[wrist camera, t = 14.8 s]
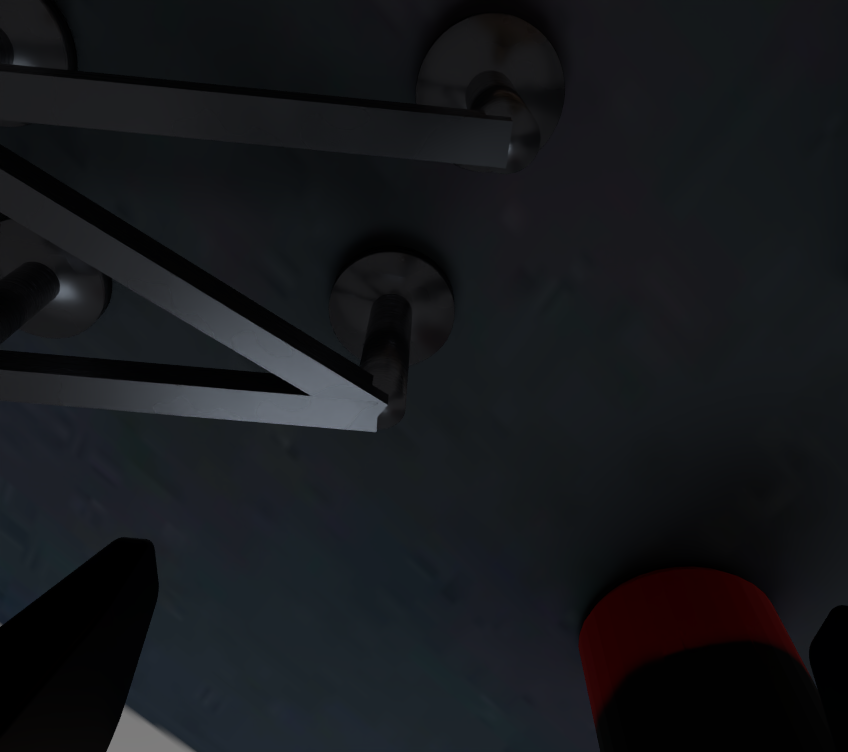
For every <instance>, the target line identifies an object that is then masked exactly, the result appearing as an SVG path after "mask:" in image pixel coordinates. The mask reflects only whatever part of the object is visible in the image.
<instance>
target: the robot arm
mask: <svg viewBox="0 0 848 752" xmlns="http://www.w3.org/2000/svg"><path fill="white" fill-rule="evenodd" d="M158 591H159V582H158V574H157V565H156V557H155V549H154V545H153V543H152V542H151V541H150V540H147V539H138V538H127V537H121V538H118V539H116V540H114V541H113V542H111V543H110V544H109V545H107V546H106V547H105V548H103V549H102V550H101V551H99V552H98V553H97V554H96V555H94V556H93V557H92V558H90V559H89V560H88V561H86V562H85V563H84V564H82V565H81V566H80V567H78V568H77V569H76V570H74V571H73V572H72V573H71V574H69V575H68V576H67V577H65V578H64V579H63V580H61V581H60V582H59V583H57V584H56V585H55V586H53V587H52V588H51V589H49V590H48V591H47V592H46V593H44V594H43V595H42V596H40V597H39V598H38V599H36V600H35V601H34V602H32V603H31V604H30V605H28V606H27V607H26V608H25V609H23V610H22V611H21V612H19V613H18V614H17V615H15V616H14V617H13V618H11V619H10V620H9V621H7V622H6V623H5V624H3V625H2V626H1V627H0V752H106V751H107V749H108V747H109V744H110V742H111V740H112V737H113V735H114V732H115V730H116V727H117V725H118V722H119V720H120V717H121V714H122V711H123V708H124V705H125V702H126V699H127V696H128V693H129V689H130V686H131V683H132V680H133V676H134V673H135V670H136V667H137V664H138V660H139V657H140V654H141V651H142V647H143V644H144V641H145V638H146V634H147V631H148V628H149V625H150V622H151V618H152V615H153V612H154V609H155V605H156V602H157V597H158ZM809 659H810V665H811V668H812V672H813V675H814V678H815V682H816V685H817V688H818V692H819V695H820V699H821V702H822V705H823V709H824V712H825V716H826V719H827V722H828V726H829V729H830V733H831V736H832V739H833V743H834V746H835V750H836V752H848V606H844V605H840V606H837V607H835V608H833V609H832V610H831V611H830V613H829V615H828V616H827V618H826V619H825V621H824V623H823V624H822V626H821V628H820V629H819V631H818V632H817V634H816V636H815V637H814V639H813V641H812V642H811V645H810V649H809Z"/></svg>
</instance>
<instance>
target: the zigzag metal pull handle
mask: <svg viewBox="0 0 848 752" xmlns="http://www.w3.org/2000/svg"><path fill="white" fill-rule="evenodd" d="M564 95H565V83H564V75H563V71H562V67H561V63H560V61H559V58H558V56H557V53H556V52H555V50H554V48H553V46H552V45H551V43H550V42H549V41H548V39H547V38H546V37H545V36H544V35H543V34H542V33H541V32H540V31H539V30H538V29H537V28H535V27H534V26H532V25H531V24H530V23H528V22H526V21H524V20H522V19H520V18H518V17H516V16H513V15H510V14H505V13H500V12H485V13H478V14H474V15H471V16H468V17H465V18H463V19H461V20H459V21H457V22H456V23H454V24H452V25H451V26H449V27H448V28H447V29H446V30H444V31H443V32H442V33H441V34H440V35H439V36H438V37H437V39H436V40H435V41H434V42H433V44H432V45H431V46H430V48H429V50H428V52H427V53H426V55H425V57H424V59H423V62H422V64H421V67H420V71H419V75H418V79H417V86H416V104H410V103H400V102H389V101H379V100H369V99H359V98H349V97H339V96H328V95H318V94H308V93H298V92H288V91H277V90H267V89H257V88H247V87H237V86H227V85H216V84H206V83H196V82H186V81H176V80H166V79H155V78H145V77H135V76H125V75H115V74H104V73H94V72H84V71H77V56H76V50H75V45H74V41H73V38H72V35H71V32H70V30H69V27H68V25H67V23H66V21H65V19H64V17H63V15H62V14H61V12H60V10H59V9H58V8H57V6H56V5H55V3H54V2H53V1H52V0H0V126H4V127H18V126H25V125H28V124H32V123H38V124H49V125H59V126H70V127H80V128H91V129H101V130H111V131H122V132H132V133H143V134H153V135H164V136H174V137H184V138H195V139H205V140H216V141H226V142H237V143H247V144H258V145H268V146H278V147H289V148H299V149H310V150H320V151H331V152H341V153H351V154H362V155H372V156H383V157H393V158H404V159H414V160H424V161H435V162H445V163H453V164H455V165H457V166H459V167H461V168H464V169H468V170H471V171H477V172H496V173H500V174H511V173H515V172H518V171H520V170H522V169H524V168H525V167H527V166H528V165H529V164H530V163H531V162H532V161H533V159H534V158H535V156H536V155H537V153H538V151H539V150H540V149H541V148H542V147H543V146H544V144H545V143H546V142H547V141H548V139H549V138H550V136H551V135H552V133H553V131H554V130H555V128H556V126H557V124H558V121H559V118H560V116H561V112H562V108H563V103H564ZM0 212H1V213H2V214H4V215H6V216H7V218H5V219H3V220H1V221H0V344H1V343H3V342H4V341H5V340H6V339H7V338H8V337H10V336H11V335H12V334H13V333H14V332H16V331H17V330H18V329H21V330H23V331H25V332H27V333H30V334H33V335H36V336H40V337H46V338H67V337H71V336H75V335H77V334H80V333H82V332H83V331H85V330H87V329H88V328H89V327H90V326H91V325H92V324H93V323H94V322H95V321H96V320H97V319H98V318H99V317H100V316H101V315H102V314H103V313H104V311H105V310H106V308H107V307H108V304H109V302H110V298H111V294H112V281H111V278H112V279H114V280H116V281H117V282H119V283H121V284H123V285H124V286H126V287H128V288H129V289H131V290H133V291H134V292H136V293H138V294H139V295H141V296H143V297H145V298H146V299H148V300H150V301H151V302H153V303H155V304H156V305H158V306H160V307H161V308H163V309H165V310H167V311H168V312H170V313H172V314H173V315H175V316H177V317H178V318H180V319H182V320H183V321H185V322H187V323H189V324H190V325H192V326H194V327H195V328H197V329H199V330H200V331H202V332H204V333H205V334H207V335H209V336H211V337H212V338H214V339H216V340H217V341H219V342H221V343H222V344H224V345H226V346H227V347H229V348H231V349H233V350H234V351H236V352H238V353H239V354H241V355H243V356H244V357H246V358H248V359H249V360H251V361H253V362H255V363H256V364H258V365H260V366H261V367H263V368H265V369H266V370H268V371H270V372H271V373H261V372H249V371H238V370H226V369H215V368H203V367H191V366H180V365H168V364H156V363H145V362H133V361H121V360H110V359H98V358H87V357H75V356H63V355H52V354H40V353H28V352H17V351H5V350H0V400H1V401H12V402H24V403H36V404H48V405H60V406H72V407H84V408H96V409H108V410H120V411H132V412H144V413H156V414H168V415H180V416H192V417H203V418H215V419H227V420H239V421H251V422H263V423H275V424H287V425H299V426H311V427H323V428H335V429H347V430H359V431H371V432H376V431H377V429H386V428H390V427H392V426H394V425H396V424H397V423H398V422H399V421H400V420H401V419H402V418H403V416H404V413H405V407H406V394H407V381H408V368H409V366H410V365H414V364H417V363H419V362H421V361H424V360H426V359H427V358H429V357H430V356H432V355H433V354H434V353H436V352H437V351H438V350H439V349H440V348H441V347H442V346H443V344H444V343H445V341H446V340H447V338H448V336H449V334H450V332H451V329H452V326H453V322H454V296H453V291H452V288H451V285H450V282H449V280H448V278H447V277H446V275H445V273H444V272H443V271H442V269H441V268H440V267H439V266H438V265H437V264H436V263H435V262H434V261H433V260H431V259H430V258H429V257H427V256H425V255H424V254H422V253H420V252H418V251H415V250H413V249H409V248H406V247H400V246H382V247H377V248H372V249H370V250H367V251H364V252H362V253H360V254H359V255H357V256H356V257H354V258H353V259H351V260H350V261H349V262H348V263H347V264H346V265H345V266H344V267H343V269H342V270H341V271H340V273H339V275H338V276H337V278H336V281H335V283H334V286H333V289H332V292H331V296H330V300H329V317H330V322H331V325H332V328H333V330H334V332H335V334H336V336H337V338H338V339H339V341H340V342H341V343H342V344H343V346H344V347H345V348H346V349H347V350H348V351H350V352H351V353H352V354H353V355H355V356H356V357H358V358H359V359H361V362H360V367H359V366H357V365H356V364H354V363H352V362H351V361H349V360H348V359H346V358H344V357H343V356H341V355H340V354H338V353H336V352H335V351H333V350H332V349H330V348H328V347H327V346H325V345H323V344H322V343H320V342H319V341H317V340H315V339H314V338H312V337H311V336H309V335H307V334H306V333H304V332H302V331H301V330H299V329H298V328H296V327H294V326H293V325H291V324H290V323H288V322H286V321H285V320H283V319H282V318H280V317H278V316H277V315H275V314H273V313H272V312H270V311H269V310H267V309H265V308H264V307H262V306H261V305H259V304H257V303H256V302H254V301H252V300H251V299H249V298H248V297H246V296H244V295H243V294H241V293H240V292H238V291H236V290H235V289H233V288H232V287H230V286H228V285H227V284H225V283H223V282H222V281H220V280H219V279H217V278H215V277H214V276H212V275H211V274H209V273H207V272H206V271H204V270H202V269H201V268H199V267H198V266H196V265H194V264H193V263H191V262H190V261H188V260H186V259H185V258H183V257H182V256H180V255H178V254H177V253H175V252H173V251H172V250H170V249H169V248H167V247H165V246H164V245H162V244H161V243H159V242H157V241H156V240H154V239H152V238H151V237H149V236H148V235H146V234H144V233H143V232H141V231H140V230H138V229H136V228H135V227H133V226H132V225H130V224H128V223H127V222H125V221H123V220H122V219H120V218H119V217H117V216H115V215H114V214H112V213H111V212H109V211H107V210H106V209H104V208H102V207H101V206H99V205H98V204H96V203H94V202H93V201H91V200H90V199H88V198H86V197H85V196H83V195H82V194H80V193H78V192H77V191H75V190H73V189H72V188H70V187H69V186H67V185H65V184H64V183H62V182H61V181H59V180H57V179H56V178H54V177H52V176H51V175H49V174H48V173H46V172H44V171H43V170H41V169H40V168H38V167H36V166H35V165H33V164H32V163H30V162H28V161H27V160H25V159H23V158H22V157H20V156H19V155H17V154H15V153H14V152H12V151H11V150H9V149H7V148H6V147H4V146H2V145H1V144H0Z"/></svg>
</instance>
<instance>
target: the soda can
mask: <svg viewBox="0 0 848 752" xmlns="http://www.w3.org/2000/svg"><path fill="white" fill-rule="evenodd" d="M579 651H580V656H581V661H582V666H583V670H584V675H585V680H586V685H587V690H588V695H589V699H590V704H591V709H592V714H593V719H594V723H595V728H596V733H597V738H598V743H599V748H600V752H836V750H835V746H834V743H833V739H832V736H831V733H830V729H829V726H828V722H827V719H826V716H825V712H824V709H823V705H822V702H821V699H820V695H819V692H818V690H817V688H816V686H815V684H814V682H813V680H812V678H811V677H810V675H809V673H808V671H807V669H806V667H805V665H804V663H803V661H802V659H801V658H800V656H799V654H798V652H797V650H796V648H795V646H794V644H793V642H792V641H791V639H790V637H789V635H788V633H787V631H786V629H785V627H784V625H783V623H782V622H781V620H780V618H779V616H778V614H777V612H776V610H775V608H774V606H773V605H772V603H771V602H770V600H769V599H768V598H767V596H766V595H765V593H764V592H762V591H761V590H760V589H759V588H757V587H756V586H755V585H754V584H752V583H750V582H748V581H746V580H744V579H742V578H740V577H738V576H736V575H733V574H730V573H727V572H723V571H719V570H716V569H712V568H704V567H696V566H686V567H671V568H665V569H659V570H655V571H651V572H648V573H645V574H642V575H639V576H636V577H634V578H632V579H630V580H628V581H626V582H624V583H622V584H620V585H619V586H617V587H616V588H614V589H613V590H611V591H610V592H609V593H608V594H606V595H605V596H604V597H603V598H602V599H601V600H600V601H599V602H598V603H597V604H596V606H595V607H594V608H593V610H592V611H591V613H590V614H589V615H588V617H587V618H586V620H585V621H584V624H583V626H582V629H581V632H580V635H579Z"/></svg>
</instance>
